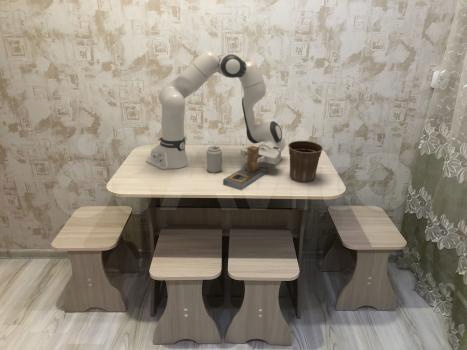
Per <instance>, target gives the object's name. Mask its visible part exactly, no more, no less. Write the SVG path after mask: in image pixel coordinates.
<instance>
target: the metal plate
mask: <svg viewBox="0 0 467 350" xmlns="http://www.w3.org/2000/svg"><path fill="white" fill-rule="evenodd" d="M267 173H268V168H267V167H264V166H260V165H258V171H257V172H255V173H253V172H249V171H247V165H245V166H244V167H242V168H240V169H238V170H236V172H234V173H232V174H230V175H229V176H227V177H225V178H223V179H222V183H223V184H222V185H224V186H227V185H228V186H227V187H231V188H234V189H237V190H240V191H241V190H244V189H245V188H246V187H247V186H249V185H250V184H252V183H254V182H255V181H256V180H258V179H260V178H261V177H262V176H264V175H266V174H267Z"/></svg>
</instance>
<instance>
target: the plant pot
mask: <svg viewBox="0 0 467 350" xmlns="http://www.w3.org/2000/svg"><path fill="white" fill-rule="evenodd" d="M287 145H288V146H287V148H288V154H289V177H290V179H292V180H295V181H296V182H299V183H310V182H312V181H314V180H315V179H316V176H317V175H316V174H317V170H318V166H319V162H320V161H319V160H320V158H321V155H322V151H323V150H324V146H322V145H321V144H319V143H317V142H314V141H309V140H296V141H291V142H289V143H288V144H287Z"/></svg>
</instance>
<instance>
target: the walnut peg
mask: <svg viewBox="0 0 467 350" xmlns="http://www.w3.org/2000/svg"><path fill="white" fill-rule="evenodd" d="M247 147H248V146H247ZM258 156H259V147H258V146H255V145H250V147H248V148H247V160H246V166H247V171H249V172H253V173H255V172H257V171H258V166H259V163H258V162H255V161H256V160H255V159H256V158H258Z"/></svg>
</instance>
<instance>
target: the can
mask: <svg viewBox="0 0 467 350" xmlns="http://www.w3.org/2000/svg"><path fill="white" fill-rule="evenodd" d="M222 165H223V151H222V149H221V147H220V146H216V145H214V146H212V145H211V146H209V147H207V150H206V170H207V171H208V172H209V173H214V174H216V173H220V172H221V171H222V169H223V166H222Z"/></svg>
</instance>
